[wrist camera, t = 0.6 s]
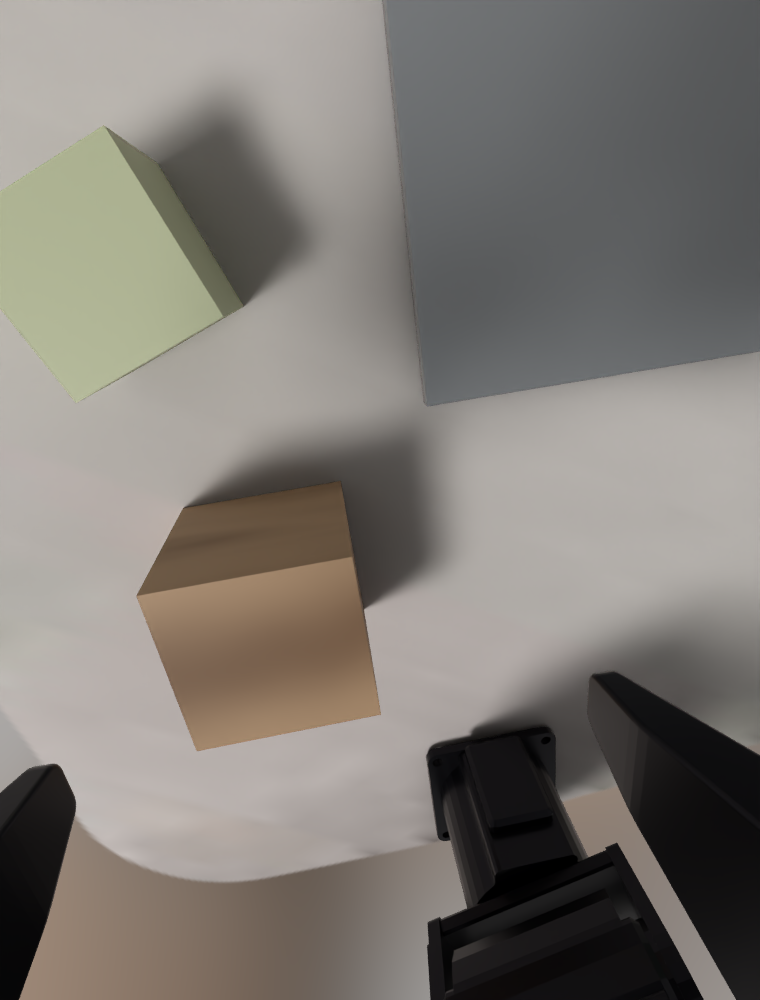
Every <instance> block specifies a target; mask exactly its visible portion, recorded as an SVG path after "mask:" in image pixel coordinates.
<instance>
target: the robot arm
mask: <svg viewBox="0 0 760 1000" xmlns="http://www.w3.org/2000/svg"><path fill="white" fill-rule="evenodd" d="M587 713H588V718H589V722H590V724H591V727H592V729H593V731H594V733H595V736H596V738H597V740H598V742H599V745H600V747H601V749H602V751H603V754H604V756H605V758H606V760H607V763H608V765H609V767H610V769H611V772H612V774H613V776H614V778H615V781H616V783H617V785H618V787H619V790H620V792H621V794H622V796H623V799H624V801H625V803H626V805H627V807H628V809H629V811H630V813H631V815H632V816H633V819H634V821H635V822H636V824H637V826H638V828H639V830H640V831H641V833H642V835H643V837H644V838H645V840H646V842H647V844H648V845H649V847H650V849H651V851H652V852H653V854H654V856H655V858H656V860H657V861H658V863H659V865H660V867H661V868H662V870H663V872H664V874H665V875H666V877H667V879H668V881H669V882H670V884H671V886H672V888H673V889H674V891H675V893H676V895H677V896H678V898H679V900H680V902H681V904H682V905H683V907H684V908H685V911H686V912H687V914H688V916H689V918H690V919H691V921H692V923H693V924H694V926H695V928H696V930H697V931H698V933H699V935H700V937H701V939H702V940H703V942H704V944H705V946H706V948H707V949H708V951H709V953H710V955H711V956H712V958H713V960H714V962H715V963H716V965H717V967H718V969H719V970H720V972H721V974H722V976H723V977H724V979H725V981H726V983H727V984H728V986H729V988H730V989H731V991H732V993H733V995H734V997H735V998H736V1000H760V755H759V754H757V753H755V752H754V751H752V750H750V749H748V748H747V747H745V746H743V745H742V744H740V743H738V742H736V741H735V740H733V739H731V738H730V737H728V736H726V735H724V734H723V733H721V732H719V731H718V730H716V729H714V728H712V727H711V726H709V725H707V724H706V723H704V722H702V721H700V720H699V719H697V718H695V717H693V716H692V715H690V714H688V713H687V712H685V711H683V710H681V709H680V708H678V707H676V706H675V705H673V704H671V703H669V702H668V701H666V700H664V699H663V698H661V697H659V696H657V695H656V694H654V693H652V692H651V691H649V690H647V689H645V688H644V687H642V686H640V685H639V684H637V683H635V682H633V681H632V680H630V679H628V678H627V677H625V676H623V675H621V674H620V673H618V672H616V671H605V672H599V673H594V674H592V675H591V676H590V678H589V686H588V703H587ZM555 743H556V738H555V735H554V733H553V732H552V730H551V729H550V728H549V727H539V728H534V729H529V730H524V731H519V732H515V733H510V734H505V735H500V736H495V737H490V738H485V739H480V740H475V741H470V742H465V743H460V744H456V745H451V746H446V747H441V748H436V749H433V750H431V751H429V752H428V754H427V755H426V760H427V767H428V774H429V781H430V788H431V795H432V803H433V810H434V817H435V824H436V830H437V835H438V838H439V839H440V840H442V841H449V840H451V844H452V848H453V852H454V856H455V860H456V864H457V868H458V872H459V876H460V880H461V884H462V888H463V892H464V896H465V901H466V904H467V909H464V910H462V911H460V912H457V913H455V914H453V915H450V916H448V917H445V918H443V919H441V918H440V917H439V918H436V919H434V920H432V921H429V922H428V936H429V944H428V945H427V950H428V966H429V982H430V997H431V1000H703V997H702V996H701V994H700V992H699V990H698V988H697V986H696V984H695V982H694V980H693V978H692V976H691V974H690V973H689V971H688V969H687V967H686V965H685V963H684V961H683V959H682V958H681V956H680V954H679V952H678V950H677V948H676V946H675V945H674V943H673V941H672V939H671V938H670V936H669V934H668V932H667V931H666V929H665V927H664V925H663V924H662V921H661V920H660V918H659V916H658V914H657V913H656V911H655V909H654V907H653V905H652V904H651V902H650V900H649V898H648V897H647V895H646V893H645V891H644V889H643V888H642V886H641V884H640V882H639V881H638V879H637V877H636V875H635V873H634V872H633V870H632V868H631V866H630V865H629V863H628V861H627V859H626V858H625V856H624V854H623V852H622V851H621V849H620V847H619V845H618V843H615V844H612V845H610V846H608V847H605V848H606V850H605V851H603V852H600V853H598V854H596V855H593V856H591V857H588V856H587V854H586V851H585V849H584V847H583V845H582V843H581V841H580V839H579V837H578V835H577V833H576V831H575V829H574V826H573V824H572V822H571V820H570V818H569V816H568V814H567V812H566V809H565V807H564V805H563V803H562V801H561V799H560V797H559V795H558V793H557V791H556V788H555ZM75 812H76V800H75V796H74V794H73V792H72V790H71V788H70V785H69V783H68V781H67V779H66V777H65V775H64V773H63V770H62V769H61V767H60V766H59V765H57V764H48V765H42V766H36V767H32V768H29V769H28V770H26V771H25V772H24V773H22V774H21V775H20V776H19V777H18V778H17V779H16V780H15V781H13V782H12V783H11V784H10V785H9V786H7V787H6V788H5V789H4V790H3V791H2V792H1V793H0V1000H19V998H20V995H21V992H22V990H23V987H24V984H25V981H26V978H27V976H28V973H29V970H30V967H31V964H32V962H33V959H34V956H35V953H36V951H37V948H38V945H39V942H40V939H41V936H42V933H43V930H44V928H45V925H46V922H47V919H48V915H49V912H50V908H51V905H52V901H53V898H54V894H55V890H56V886H57V882H58V878H59V874H60V871H61V867H62V863H63V859H64V855H65V851H66V847H67V843H68V839H69V836H70V832H71V828H72V824H73V820H74V816H75Z"/></svg>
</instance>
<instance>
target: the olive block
mask: <svg viewBox="0 0 760 1000" xmlns="http://www.w3.org/2000/svg"><path fill="white" fill-rule="evenodd" d="M242 307H244V306H243V304H242V303H241V301H240V299H239V298H238V296H237V294H236V293H235V291H234V289H233V288H232V286H231V284H230V283H229V281H228V280H227V278H226V276H225V275H224V273H223V271H222V270H221V268H220V266H219V265H218V263H217V261H216V260H215V258H214V256H213V255H212V253H211V251H210V250H209V248H208V246H207V245H206V243H205V241H204V240H203V238H202V236H201V235H200V233H199V231H198V230H197V228H196V227H195V225H194V223H193V222H192V220H191V218H190V217H189V215H188V213H187V212H186V210H185V208H184V207H183V205H182V203H181V202H180V200H179V198H178V197H177V195H176V193H175V192H174V190H173V188H172V187H171V185H170V183H169V182H168V180H167V178H166V177H165V175H164V174H163V172H162V170H161V169H160V167H159V165H158V164H157V163H156V162H155V161H153V160H152V159H150V158H149V157H148V156H146V155H145V154H143V153H142V152H141V151H139V150H138V149H136V148H135V147H134V146H132V145H131V144H129V143H128V142H127V141H125V140H124V139H122V138H121V137H120V136H118V135H117V134H115V133H114V132H112V131H111V130H110V129H108V128H107V127H105V126H102V127H100V128H99V129H97V130H96V131H94V132H93V133H91V134H90V135H88V136H86V137H85V138H83V139H82V140H80V141H79V142H77V143H75V144H74V145H72V146H71V147H69V148H68V149H66V150H64V151H63V152H61V153H60V154H58V155H57V156H55V157H53V158H52V159H50V160H49V161H47V162H46V163H44V164H42V165H41V166H39V167H38V168H36V169H35V170H33V171H32V172H30V173H28V174H27V175H25V176H24V177H22V178H21V179H19V180H17V181H16V182H14V183H13V184H11V185H10V186H8V187H6V188H5V189H3V190H2V191H0V309H1V310H2V312H3V313H4V314H5V315H6V317H7V318H8V319H9V320H10V322H11V323H12V324H13V325H14V327H15V328H16V329H17V330H18V332H19V333H20V334H21V335H22V337H23V338H24V339H25V340H26V341H27V343H28V344H29V345H30V346H31V348H32V349H33V350H34V351H35V353H36V354H37V355H38V356H39V358H40V359H41V360H42V361H43V363H44V364H45V365H46V366H47V368H48V369H49V370H50V371H51V373H52V374H53V375H54V376H55V378H56V379H57V380H58V381H59V383H60V384H61V385H62V386H63V388H64V389H65V390H66V391H67V393H68V394H69V395H70V396H71V398H72V399H73V400H74V401H75V403H77V402H79V401H81V400H83V399H84V398H86V397H88V396H90V395H92V394H93V393H95V392H97V391H99V390H101V389H102V388H104V387H106V386H108V385H110V384H111V383H113V382H115V381H117V380H119V379H120V378H122V377H124V376H126V375H128V374H129V373H131V372H133V371H135V370H136V369H138V368H140V367H141V366H143V365H145V364H146V363H148V362H150V361H152V360H153V359H155V358H157V357H158V356H160V355H162V354H164V353H165V352H167V351H169V350H170V349H172V348H174V347H175V346H177V345H179V344H181V343H182V342H184V341H186V340H187V339H189V338H191V337H193V336H194V335H196V334H198V333H199V332H201V331H203V330H204V329H206V328H208V327H210V326H211V325H213V324H215V323H216V322H218V321H220V320H222V319H223V318H225V317H227V316H228V315H230V314H232V313H234V312H235V311H237V310H239V309H240V308H242Z"/></svg>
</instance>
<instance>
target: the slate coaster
mask: <svg viewBox="0 0 760 1000" xmlns="http://www.w3.org/2000/svg"><path fill="white" fill-rule="evenodd" d="M382 2H383V12H384V21H385V31H386V41H387V50H388V60H389V70H390V79H391V89H392V99H393V109H394V118H395V128H396V138H397V147H398V157H399V167H400V176H401V186H402V196H403V205H404V215H405V225H406V235H407V244H408V254H409V264H410V273H411V283H412V293H413V302H414V312H415V322H416V332H417V341H418V351H419V361H420V370H421V380H422V390H423V399H424V403H425V405H426V406H433V405H439V404H445V403H451V402H457V401H463V400H469V399H475V398H481V397H487V396H493V395H499V394H505V393H511V392H517V391H523V390H529V389H535V388H541V387H547V386H553V385H559V384H565V383H571V382H577V381H583V380H589V379H595V378H601V377H608V376H614V375H620V374H626V373H632V372H638V371H644V370H650V369H656V368H662V367H668V366H674V365H680V364H686V363H692V362H698V361H704V360H710V359H716V358H722V357H728V356H734V355H740V354H746V353H752V352H758V351H760V0H382Z"/></svg>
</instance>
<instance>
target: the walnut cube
mask: <svg viewBox="0 0 760 1000" xmlns="http://www.w3.org/2000/svg"><path fill="white" fill-rule="evenodd" d="M137 599H138V601H139V604H140V607H141V609H142V612H143V614H144V617H145V619H146V622H147V624H148V627H149V630H150V632H151V635H152V637H153V640H154V642H155V645H156V648H157V650H158V653H159V655H160V658H161V660H162V663H163V666H164V668H165V671H166V673H167V676H168V678H169V681H170V684H171V686H172V689H173V691H174V694H175V696H176V699H177V702H178V704H179V707H180V709H181V712H182V714H183V717H184V720H185V722H186V725H187V727H188V730H189V732H190V735H191V738H192V740H193V743H194V745H195V748H196V750H197V751H201V750H206V749H211V748H216V747H221V746H226V745H231V744H236V743H241V742H246V741H251V740H256V739H261V738H266V737H271V736H276V735H281V734H286V733H291V732H296V731H301V730H306V729H311V728H316V727H321V726H326V725H331V724H336V723H341V722H346V721H351V720H356V719H361V718H366V717H371V716H376V715H381V712H380V706H379V700H378V694H377V687H376V681H375V675H374V669H373V663H372V657H371V651H370V644H369V638H368V632H367V626H366V620H365V614H364V608H363V602H362V597H361V591H360V586H359V580H358V574H357V569H356V563H355V558H354V552H353V547H352V541H351V536H350V530H349V524H348V519H347V513H346V508H345V502H344V497H343V491H342V486H341V481H338V482H332V483H326V484H320V485H315V486H309V487H303V488H297V489H291V490H286V491H280V492H274V493H268V494H262V495H257V496H251V497H245V498H239V499H233V500H228V501H222V502H216V503H210V504H204V505H199V506H193V507H187V508H183V510H182V511H181V513H180V515H179V517H178V519H177V521H176V523H175V525H174V526H173V528H172V530H171V532H170V534H169V536H168V538H167V540H166V541H165V543H164V545H163V547H162V549H161V551H160V553H159V555H158V556H157V558H156V560H155V562H154V564H153V566H152V568H151V570H150V571H149V573H148V575H147V577H146V579H145V581H144V583H143V585H142V587H141V588H140V590H139V592H138V594H137Z"/></svg>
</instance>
